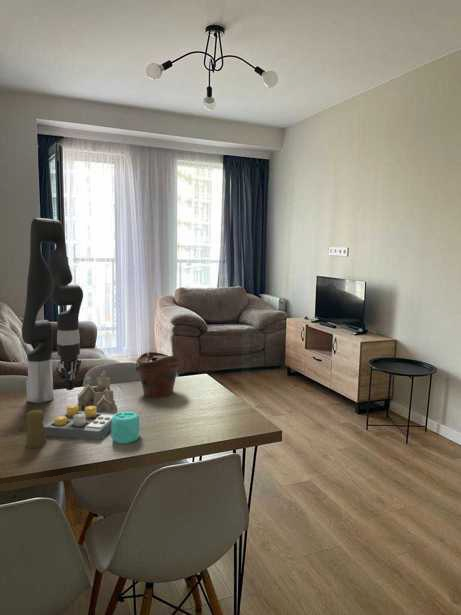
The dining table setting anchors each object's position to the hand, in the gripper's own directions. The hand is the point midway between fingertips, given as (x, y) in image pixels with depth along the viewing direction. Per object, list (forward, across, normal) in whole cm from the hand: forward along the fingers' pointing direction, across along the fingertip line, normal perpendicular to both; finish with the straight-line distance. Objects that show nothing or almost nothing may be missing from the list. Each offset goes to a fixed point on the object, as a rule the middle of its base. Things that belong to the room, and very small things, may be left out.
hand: (69, 389), depth 160 cm
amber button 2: (+9, 0, +1) cm, 9 cm away
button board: (+12, +4, +7) cm, 15 cm away
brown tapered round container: (+13, -41, +18) cm, 46 cm away
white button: (+9, +8, +8) cm, 14 cm away
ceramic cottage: (+13, -13, +3) cm, 19 cm away
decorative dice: (+12, +8, +25) cm, 29 cm away
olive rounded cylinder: (+13, +18, -1) cm, 22 cm away
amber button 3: (+9, 0, +8) cm, 12 cm away
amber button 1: (+11, +8, +1) cm, 13 cm away
